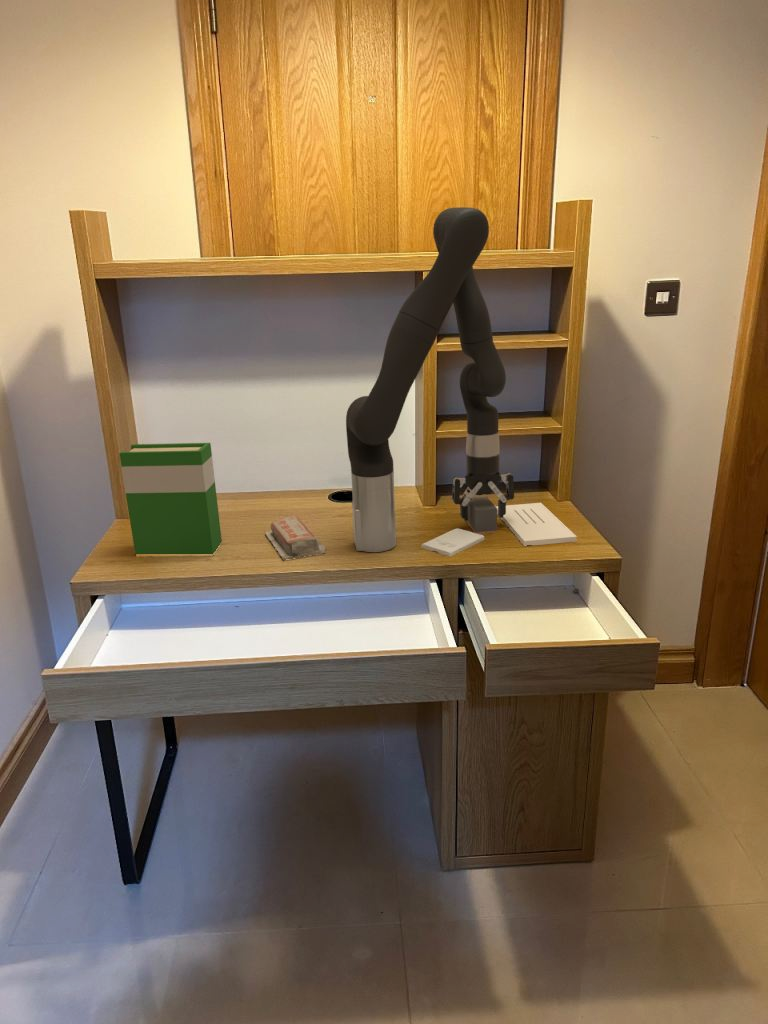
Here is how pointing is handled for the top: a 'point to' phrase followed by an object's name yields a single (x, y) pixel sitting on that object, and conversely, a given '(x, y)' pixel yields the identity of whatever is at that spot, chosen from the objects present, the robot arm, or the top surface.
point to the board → (536, 525)
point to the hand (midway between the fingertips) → (483, 518)
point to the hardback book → (171, 498)
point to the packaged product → (293, 538)
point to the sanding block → (482, 515)
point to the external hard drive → (453, 542)
